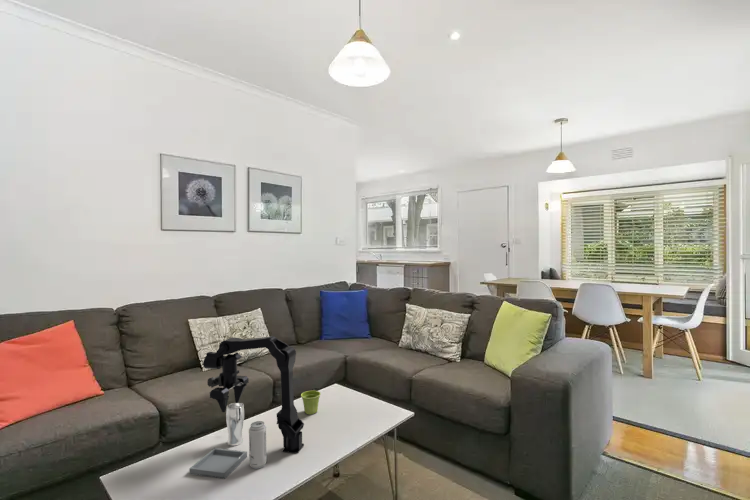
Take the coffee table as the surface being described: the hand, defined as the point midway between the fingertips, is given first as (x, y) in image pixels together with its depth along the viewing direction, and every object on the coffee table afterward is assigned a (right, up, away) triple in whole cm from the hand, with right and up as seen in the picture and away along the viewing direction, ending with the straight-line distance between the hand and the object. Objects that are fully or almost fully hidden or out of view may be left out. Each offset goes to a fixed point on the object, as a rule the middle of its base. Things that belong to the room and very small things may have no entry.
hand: (230, 407), depth 155 cm
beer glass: (+2, -15, 0) cm, 15 cm away
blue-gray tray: (+2, -14, -16) cm, 22 cm away
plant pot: (+28, -14, +28) cm, 42 cm away
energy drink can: (+16, -14, -16) cm, 27 cm away
